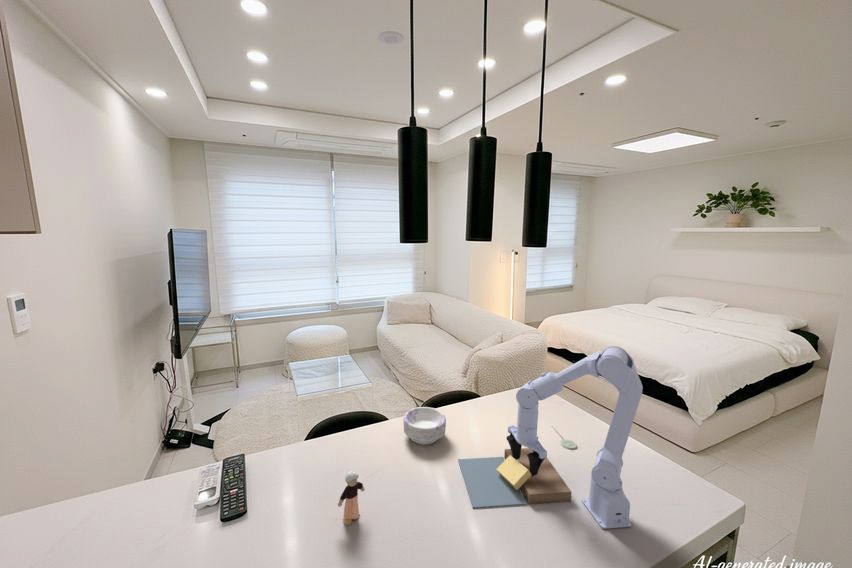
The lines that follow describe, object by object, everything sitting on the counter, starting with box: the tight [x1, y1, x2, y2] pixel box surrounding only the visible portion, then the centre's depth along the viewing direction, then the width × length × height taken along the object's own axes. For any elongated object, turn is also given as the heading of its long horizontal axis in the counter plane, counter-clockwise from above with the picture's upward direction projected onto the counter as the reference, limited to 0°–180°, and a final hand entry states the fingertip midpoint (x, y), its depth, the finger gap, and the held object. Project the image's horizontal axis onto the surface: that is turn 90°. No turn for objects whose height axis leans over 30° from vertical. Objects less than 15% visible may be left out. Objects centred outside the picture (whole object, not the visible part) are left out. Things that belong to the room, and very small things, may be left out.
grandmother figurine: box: [337, 470, 365, 526], centre depth 87 cm, size 8×4×13 cm, turn 148°
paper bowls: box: [403, 406, 447, 446], centre depth 123 cm, size 15×15×8 cm
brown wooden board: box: [503, 447, 572, 505], centre depth 103 cm, size 20×12×3 cm, turn 6°
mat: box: [457, 456, 528, 510], centre depth 102 cm, size 20×15×1 cm
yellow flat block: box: [496, 455, 532, 490], centre depth 100 cm, size 9×6×2 cm
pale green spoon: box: [551, 425, 577, 450], centre depth 125 cm, size 5×1×15 cm
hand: (524, 466), depth 102 cm, fingers open, 7 cm apart
